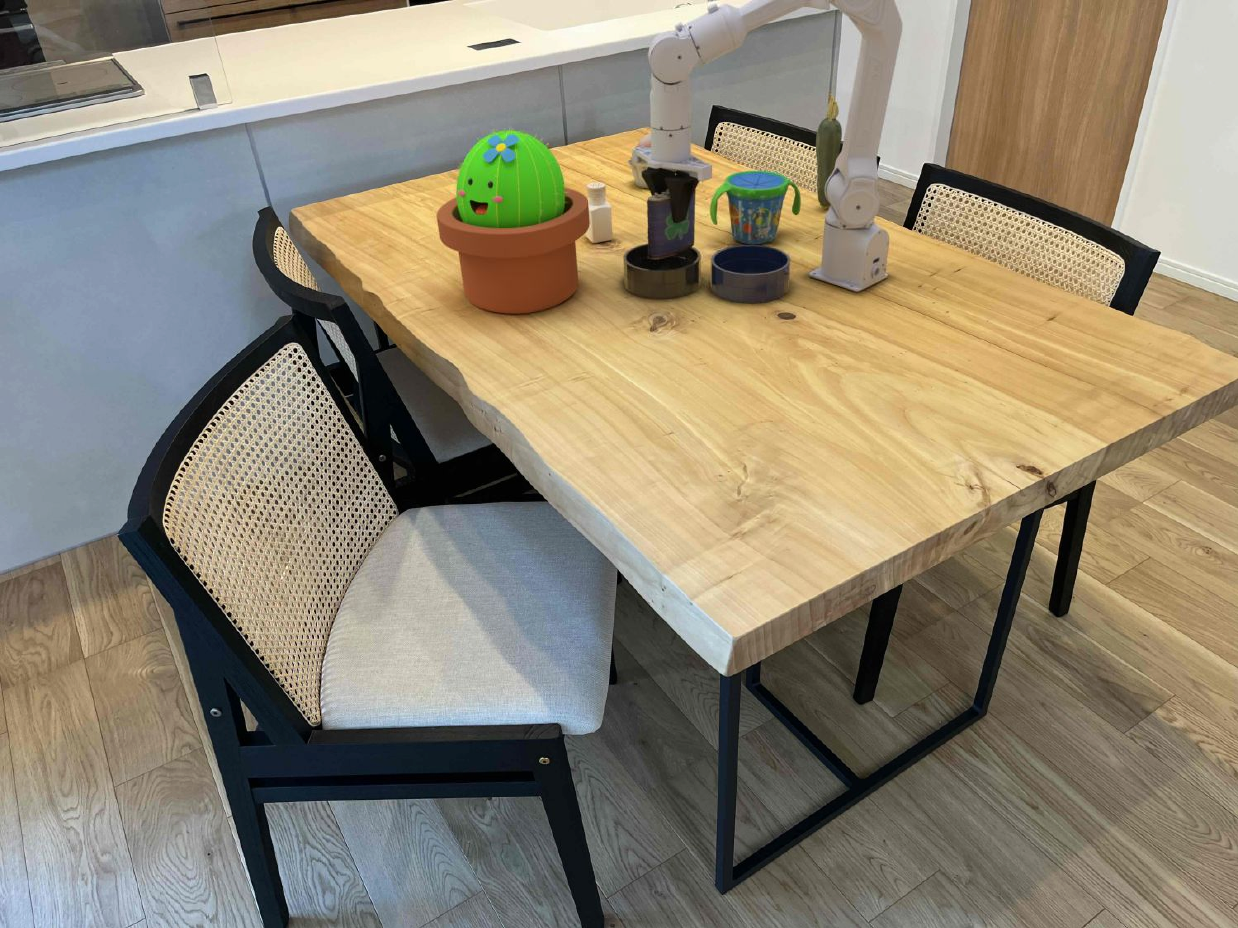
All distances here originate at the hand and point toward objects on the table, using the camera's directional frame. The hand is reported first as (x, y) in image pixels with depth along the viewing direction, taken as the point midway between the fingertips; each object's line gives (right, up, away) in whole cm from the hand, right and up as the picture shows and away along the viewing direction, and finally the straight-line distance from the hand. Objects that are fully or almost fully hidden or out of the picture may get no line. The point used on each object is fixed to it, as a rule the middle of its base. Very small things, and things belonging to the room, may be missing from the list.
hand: (671, 218), depth 140 cm
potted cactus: (-23, -10, +6) cm, 26 cm away
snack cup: (+15, +2, +20) cm, 26 cm away
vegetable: (+29, +9, +31) cm, 43 cm away
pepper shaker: (-11, +2, +23) cm, 26 cm away
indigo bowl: (+12, -10, +4) cm, 16 cm away
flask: (0, -4, +3) cm, 5 cm away
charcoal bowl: (-1, -9, +6) cm, 11 cm away
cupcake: (-1, +19, +47) cm, 51 cm away
